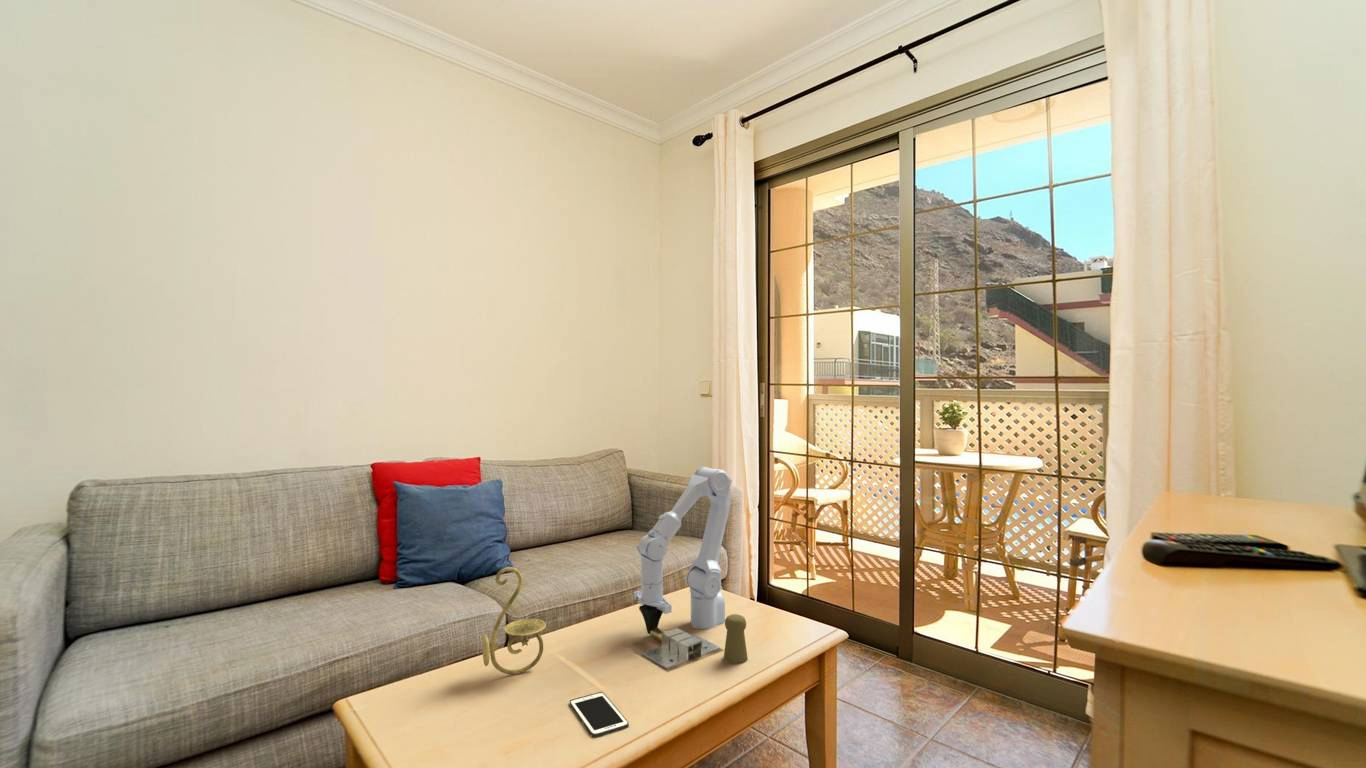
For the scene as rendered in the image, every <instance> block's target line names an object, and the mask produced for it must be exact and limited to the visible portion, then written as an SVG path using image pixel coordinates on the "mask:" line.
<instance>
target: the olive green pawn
mask: <svg viewBox="0 0 1366 768" xmlns="http://www.w3.org/2000/svg"><path fill="white" fill-rule="evenodd" d="M724 626H725V629H726V636H725V642H724V643H725V646H724V651H723V653H724V654H723V660H724V661H725V662H727V663H729V664H733V665H740V664H745V663H746V662H748V651H747V643H746V636H745V630H746V628H747V620H746V618H745V617H744V616H743V615H741V614H738V613H737V614H736V613H734V614H729V615H727V616H726V617H725V622H724Z"/></svg>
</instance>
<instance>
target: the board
mask: <svg viewBox="0 0 1366 768" xmlns="http://www.w3.org/2000/svg"><path fill="white" fill-rule="evenodd" d="M677 628H678V629H680V630H682V631H684V633H685V632H686V633H688V634H690V635H694V634H693V633H691V632H689V631H687V630H685V629H682V628H680V627H677ZM660 646H662V642H660V641H658V640H656V639H654V638H653V637H651V636H649V637H647V638H645V639H642V640H638V641H636V642H633V643H630V644H629V643H628V644H627V645H624V647H625V648H626V649H628V650H630V651H632V652H634V653H635V654H637V655H639V656H640V657H642V658H643V659H645V660H647V661H648V662H651V664H654V665H655V666H657V667H659V668H660V669H662V670H663V671H665V672H667V673H669V672H671V671H674V670H677V669H680V668H682V667H685V666H687V665H690V664H693V663H695V662H698V661H700V660H703V659H705V658H708V657H711V656H714V655H716V654H719V653H721V652H724V651H725V649H723V648H721V647H720V650H717V651H715V652H712V653H709V654H707V655H704V656H702V657H700V656H699V655H697V654H695V653H693V652H691V651H689V650H688V662H686V663H683V664H680V665H678V666H675V667H673V668H670V669H665V668H663V667H662V666H660V665H658V664H657V663H655V662H653V661H652V660H650V659H648V658H647V657H645V656H643V655H642V653H643V652H646V651H649V650H652V649H655V648H658V647H660Z"/></svg>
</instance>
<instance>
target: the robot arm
mask: <svg viewBox="0 0 1366 768" xmlns="http://www.w3.org/2000/svg"><path fill="white" fill-rule="evenodd" d="M731 486H732V479H731V477H730V475H728V473H727V472H726V471H725V470H723V469H714V468H710V467H708V466H700V467H698V468H696V470H695V472H694V474H692V475H691V477H690V479H689V483H688V485H687V486H686V488H685V489H684V491H683V492H682V494H681V495H680V497H679V498H678V499H677V501H676V503H675V504H674V506H672V509H671V510H670V511H667V512H664V513H663V514H660V515H659V516H658V521H657V522H656V523H655V524H654V526H653V527H652V528H651V529H650V530H649V531H648V532H647V534H646V535H644V536H642V537H641V538H640V540H639V541H638V545H636V550H637V552H638V553H639V555H640V575H641V576H640V579H641V580H640V586H641V587H640V590H635V591H633V600H637V604H639V606H638V608H639V609H638V610H639V611H640V613H641V615H642V617H643V620H644V624H645V629H646V631H647V634H648V635H650V636H651V634H650V633H651V630H652V628H653V627H658V628H659V623H660V620H661V617H662V615H663V614H664V615H667V614H670V613H672V604H671V603H669V602H668V601H667V600H666V599H665V597H663V593H664V592H663V590H664V586H663V585H664V584H663V583H664V582H663V579H664V577H663V573H664V572H663V571H664V570H663V569H664V568H663V566H664V565H663V558H664V557H665V556H666V554H667V551H668V545H669V543H670V542H671V541H672V539H673V537H674V536H675V535H676V533H677V532H678V531H679V529H680V528H681V527H682V519H683V517H684V516H685V515H686V513H687V512H688V511H689V510H690V509H691V508H692V507H693V505H694V504H695V503H696V502H697V501H698V500H699V498H702V497H707V498H708V500H710V506H709V512H708V514H707V519H706V523H705V528H704V532H703V537H702V541H701V545H700V549H699V554H698V556H697V558H695V559H694V560H693V561H692V563H691V565H690V569H688V571H687V573H686V576H685V583H686V585H687V587H688V588H689V592H690V626H692V627H693V628H695V629H697V630H698V629H699V630H709V629H712V628H715V627H717V626H718V625H721V624H725V619H726V601H725V597H724V596H723V594H722V593H721V592H720V591H721V589H722V588H721V587H722V579H721V577H722V569H721V567H720V564H719V562H718V561H719V558H720V553H721V548H722V543H723V540H724V539H723V538H724V536H725V535H724V534H725V531H726V526H727V522H728V518H729V515H730V514H729V513H730V509H731V504H732V493H731Z"/></svg>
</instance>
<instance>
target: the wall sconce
mask: <svg viewBox="0 0 1366 768" xmlns="http://www.w3.org/2000/svg"><path fill="white" fill-rule="evenodd" d="M506 572H512V573H514V574H515V575H516V577H517V578H518V583H517V587H516V589H515V591H514V592H513V594H512V595H511V597H510V598H509V600H508V601H507V603H506V605H505V606H504V607H503V609H502V610H501V612H500V614H499V616H498V618H497V620H496V623H495V625H494V628H493V630H492V633H491V637H490V642H489V637H488V635H487V634H486V633H485V634H483V635H482V644H481V646H482V648H481V649H482V658H483V665H484V667H487V666H488V665H489V663H490V660H491V664H492V666H493V668H495V669H496V670H497V671H498V672H500V673H503V674H505V675H513V676H514V675H519V674H521V673H525V672H527V671H529V670H531V669H533V667H535V666H536V665H537V664H538V662H539V661H540V660H541V658H542V655H543V652H544V641H543V638H542V635H541V634H540V632H542V631H543V630H544V629H545V628H546V625H547V623H546V622H545V621H544V620H542V619H538V618H523V619H518V620H514V621H511V622H509V623H507V624H506V625H505V626H504V629H503V631H504V633H505V634H507V635H510V636H511V637H510V638H509V639H508V642H507V644H506V645H507V646H506V647H507V651H508V653H510V654H511V655H517V654H518V655H519V654H520V653H521V652H522V651H523V649H521V648H518V649H513V647H512V644H513V642H514V641H515V640H516V639H518V638H521V637H522V638H523V640H520V641H519V642H520V643H521V647H524V646H529V645H528V643H529V642H530V639H527V637H529V636H532V635H533V636H535V637H536V639H537V641H538V653H537V655H536V658H534V659H533V661H532V662H530V663H529V664H527V665H526V666H524V667H521V668H518V669H507V668H504V667H502V666H501V665H500V664H499V663H498V661H497V659H496V654H495V652H496V651H498V645H497V644H496V638H497V633H498V630H499V628H500V625H501V623H502V620H503V618H504V616H505V615H506V614H507V612H508V610H509V609H510V607H511V605H513V603H514V602H515V600H516V598H517V596H518V595H519V594H520V592H521V589H522V586H523V575H522V573H521V572H520V571H519V570H518V569H517V568H515V567H512V566H507V567H504V568H501V569H500V570H499V571H498V572H497V573H496V575H495V583H496V584H498V585H499V586H503V585H505V584H507V582H508V579H507V578H505V579H504V580H503V581H501V580H500V577H501V576H502V574H504V573H506Z"/></svg>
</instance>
